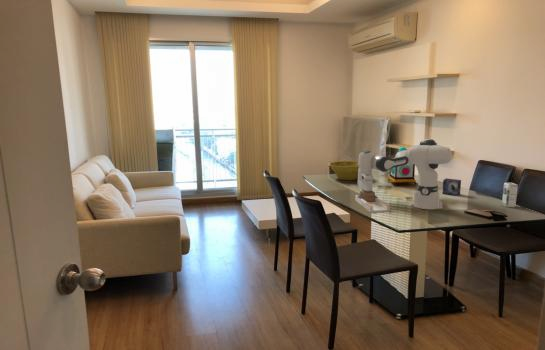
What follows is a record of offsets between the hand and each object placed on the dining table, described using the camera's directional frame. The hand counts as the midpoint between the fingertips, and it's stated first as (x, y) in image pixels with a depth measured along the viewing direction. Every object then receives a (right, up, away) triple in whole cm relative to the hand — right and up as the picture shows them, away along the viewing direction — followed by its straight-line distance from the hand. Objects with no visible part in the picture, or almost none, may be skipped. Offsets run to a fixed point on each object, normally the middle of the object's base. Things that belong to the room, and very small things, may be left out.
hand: (364, 194), depth 267 cm
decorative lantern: (+41, +6, +47) cm, 63 cm away
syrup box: (+86, -6, -22) cm, 88 cm away
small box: (+64, 0, +11) cm, 65 cm away
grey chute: (+1, -6, -13) cm, 15 cm away
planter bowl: (+2, +10, +72) cm, 73 cm away
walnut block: (+1, -4, -5) cm, 7 cm away
